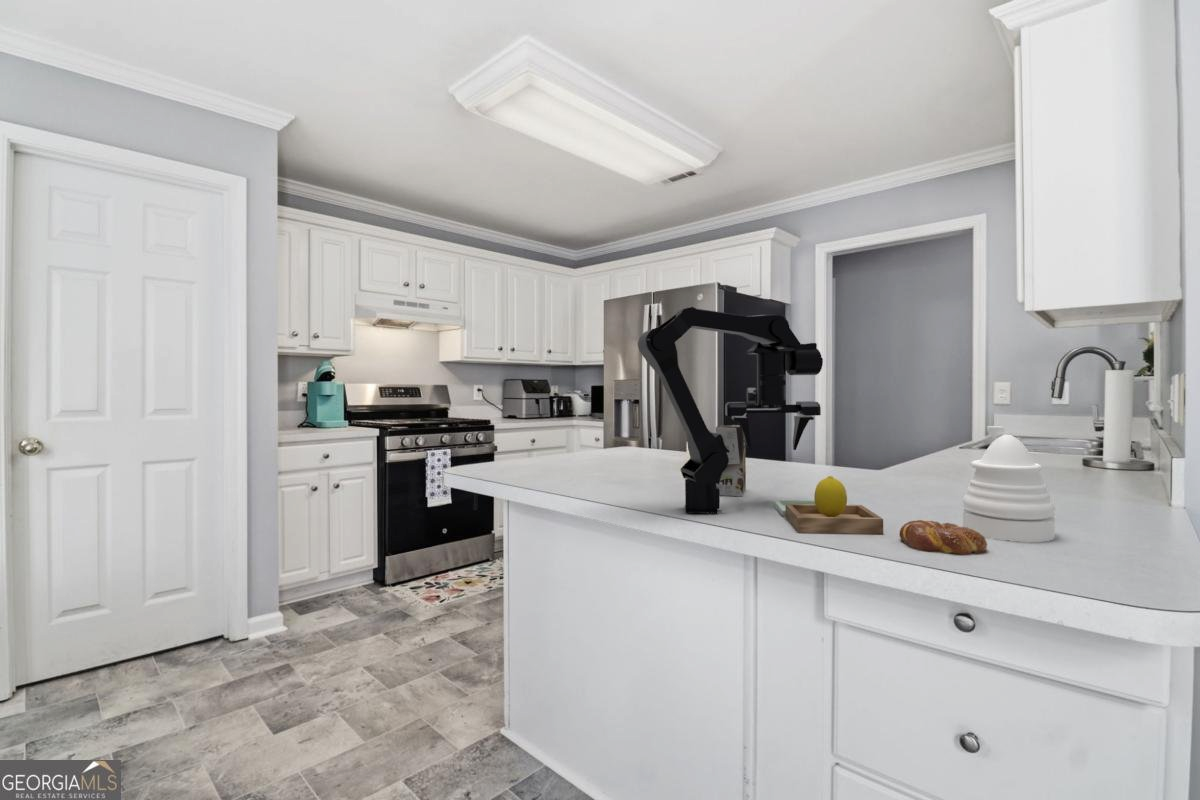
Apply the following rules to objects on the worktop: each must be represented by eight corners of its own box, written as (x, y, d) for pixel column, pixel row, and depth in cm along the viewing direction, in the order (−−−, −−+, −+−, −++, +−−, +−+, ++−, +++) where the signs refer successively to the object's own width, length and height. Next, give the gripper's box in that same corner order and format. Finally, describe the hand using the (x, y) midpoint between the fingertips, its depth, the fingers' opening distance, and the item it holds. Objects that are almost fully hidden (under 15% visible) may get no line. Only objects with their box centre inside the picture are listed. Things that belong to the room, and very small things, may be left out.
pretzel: (994, 546, 92) (994, 523, 92) (977, 562, 85) (977, 536, 85) (912, 534, 101) (911, 512, 101) (889, 547, 93) (889, 524, 93)
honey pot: (945, 528, 104) (945, 426, 103) (993, 521, 109) (993, 423, 108) (1023, 546, 92) (1023, 431, 91) (1072, 537, 97) (1072, 428, 96)
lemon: (850, 523, 104) (850, 478, 103) (817, 522, 105) (817, 478, 104) (843, 516, 109) (843, 473, 109) (811, 516, 110) (811, 473, 110)
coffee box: (743, 497, 135) (742, 426, 135) (715, 495, 137) (714, 426, 137) (746, 490, 144) (746, 424, 143) (720, 489, 146) (719, 424, 146)
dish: (782, 516, 114) (782, 510, 114) (773, 505, 125) (773, 499, 125) (841, 517, 113) (841, 511, 113) (827, 506, 124) (827, 500, 124)
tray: (798, 532, 102) (798, 517, 102) (785, 517, 114) (785, 504, 114) (883, 534, 100) (883, 519, 100) (861, 518, 112) (861, 504, 112)
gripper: (808, 375, 130) (809, 446, 130) (722, 377, 132) (723, 446, 133) (821, 374, 119) (821, 451, 119) (727, 376, 121) (727, 451, 122)
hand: (771, 449), depth 123 cm, fingers open, 9 cm apart
